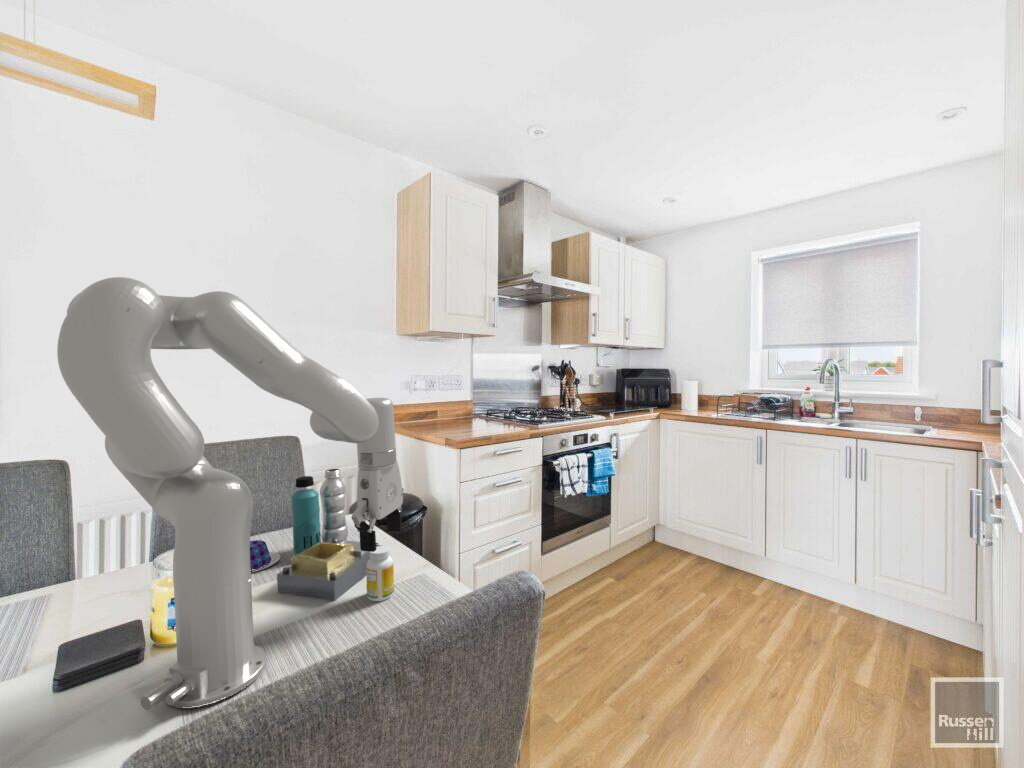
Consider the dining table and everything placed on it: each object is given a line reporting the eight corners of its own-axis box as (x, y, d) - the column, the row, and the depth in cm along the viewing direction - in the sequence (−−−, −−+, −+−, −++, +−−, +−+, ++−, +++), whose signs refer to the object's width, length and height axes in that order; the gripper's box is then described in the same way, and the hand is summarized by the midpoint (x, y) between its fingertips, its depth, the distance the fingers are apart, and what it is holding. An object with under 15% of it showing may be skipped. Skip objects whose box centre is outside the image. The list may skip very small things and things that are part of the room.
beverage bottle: (301, 563, 104) (298, 481, 103) (288, 557, 108) (285, 478, 107) (326, 554, 109) (324, 476, 108) (313, 548, 113) (310, 472, 112)
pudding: (255, 552, 112) (254, 532, 112) (291, 557, 108) (290, 537, 108) (210, 573, 101) (209, 551, 100) (249, 580, 97) (248, 557, 97)
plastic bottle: (353, 541, 117) (351, 468, 116) (331, 550, 111) (328, 474, 111) (338, 537, 120) (336, 466, 120) (316, 545, 115) (313, 471, 114)
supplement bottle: (365, 604, 85) (364, 556, 85) (368, 590, 90) (366, 545, 90) (394, 599, 87) (392, 553, 86) (394, 587, 92) (393, 542, 91)
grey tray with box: (334, 600, 87) (333, 568, 86) (277, 592, 90) (276, 562, 90) (390, 556, 107) (389, 530, 107) (341, 551, 111) (340, 526, 110)
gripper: (368, 470, 78) (374, 561, 79) (414, 449, 95) (418, 525, 96) (333, 468, 80) (339, 558, 81) (384, 449, 97) (388, 523, 98)
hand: (382, 540), depth 89 cm, fingers open, 9 cm apart
